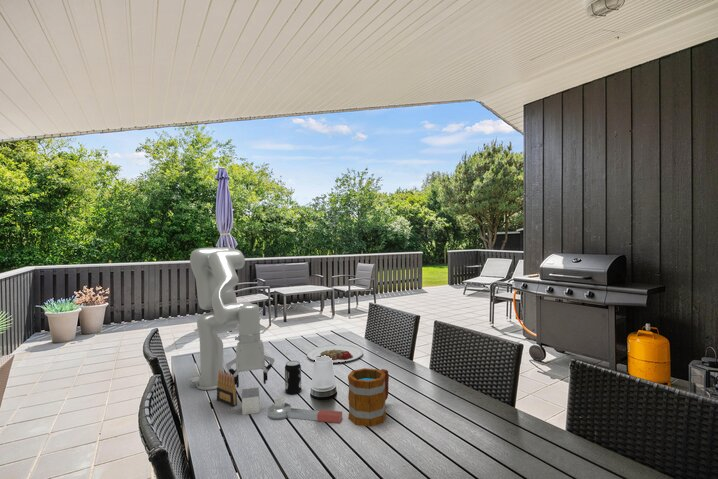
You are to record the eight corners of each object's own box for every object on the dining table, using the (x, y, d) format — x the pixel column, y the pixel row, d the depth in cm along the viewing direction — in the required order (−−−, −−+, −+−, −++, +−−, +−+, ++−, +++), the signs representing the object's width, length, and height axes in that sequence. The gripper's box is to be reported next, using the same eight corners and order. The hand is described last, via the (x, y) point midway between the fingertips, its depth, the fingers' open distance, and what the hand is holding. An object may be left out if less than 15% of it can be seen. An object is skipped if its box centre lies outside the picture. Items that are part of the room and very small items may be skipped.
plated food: (315, 347, 221) (315, 341, 221) (366, 348, 217) (366, 342, 217) (300, 364, 191) (299, 358, 191) (358, 366, 187) (358, 359, 187)
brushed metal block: (242, 415, 137) (241, 395, 137) (242, 407, 143) (242, 389, 143) (259, 412, 139) (259, 393, 139) (259, 405, 145) (258, 387, 144)
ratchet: (264, 418, 134) (264, 401, 134) (274, 408, 142) (274, 392, 142) (337, 426, 128) (337, 408, 128) (344, 415, 135) (343, 398, 135)
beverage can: (297, 395, 153) (297, 365, 153) (282, 394, 155) (282, 365, 154) (303, 389, 160) (303, 360, 160) (288, 388, 161) (288, 359, 161)
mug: (371, 430, 124) (370, 385, 124) (340, 419, 133) (339, 376, 133) (403, 408, 140) (402, 368, 140) (373, 399, 148) (372, 361, 148)
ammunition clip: (237, 405, 145) (236, 373, 145) (233, 406, 144) (232, 375, 144) (220, 398, 152) (220, 368, 152) (216, 400, 150) (216, 369, 150)
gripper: (224, 343, 134) (226, 391, 134) (274, 337, 139) (275, 384, 139) (225, 338, 142) (227, 384, 141) (273, 333, 147) (274, 378, 146)
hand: (251, 384), depth 140 cm, fingers open, 9 cm apart
